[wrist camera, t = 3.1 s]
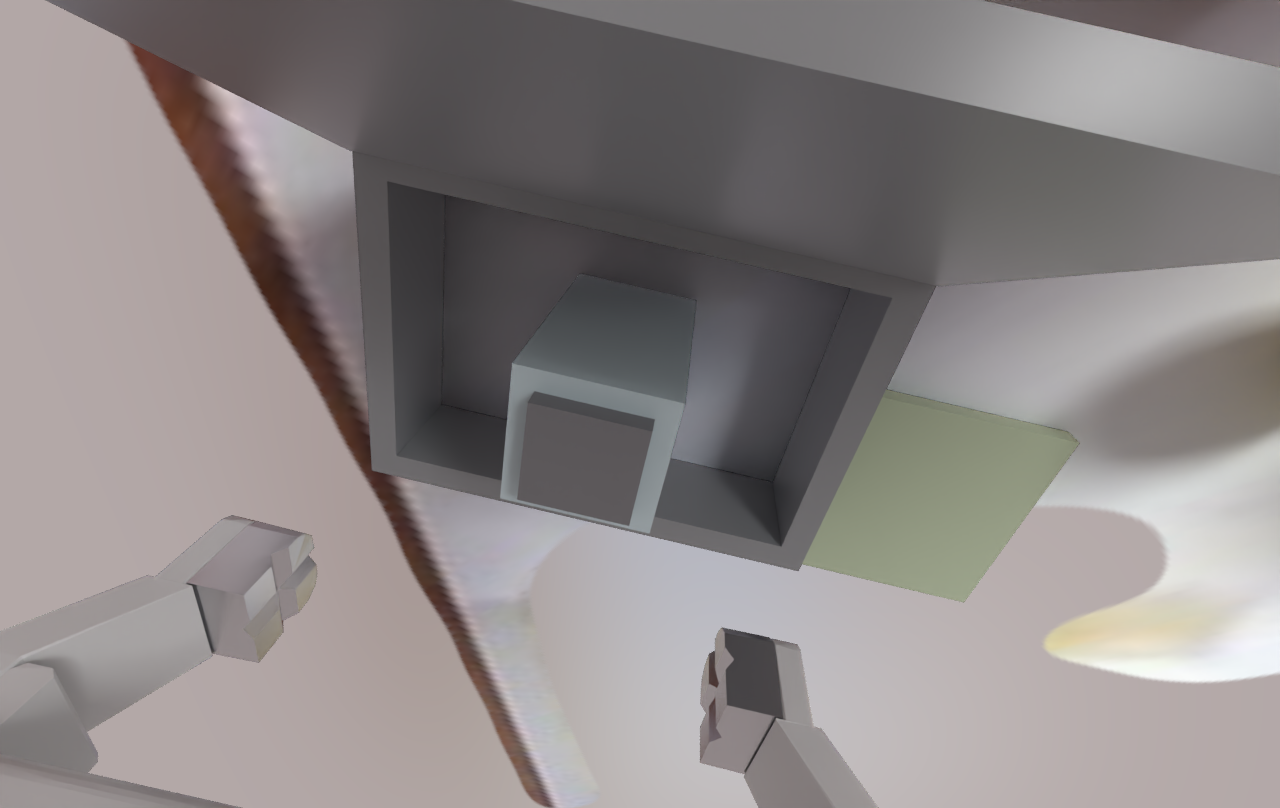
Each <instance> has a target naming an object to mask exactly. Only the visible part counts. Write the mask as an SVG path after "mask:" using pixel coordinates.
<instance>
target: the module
mask: <svg viewBox="0 0 1280 808" xmlns="http://www.w3.org/2000/svg"><path fill="white" fill-rule="evenodd" d="M695 309H696V300H692V299H688V298H684V297H679V296H675V295H671V294H667V293H662V292H658V291H654V290H649V289H645V288H641V287H636V286H632V285H628V284H623V283H619V282H615V281H610V280H606V279H602V278H597V277H593V276H589V275H585V274H579V275H578V277H577V278H576V279H575V281H574V282H573V283H572V285H571V286H570V287H569V289H568V290H567V291H566V293H565V294H564V295H563V297H562V298H561V299H560V301H559V302H558V303H557V305H556V306H555V307H554V308H553V310H552V311H551V312H550V314H549V315H548V316H547V318H546V319H545V320H544V322H543V323H542V324H541V326H540V327H539V328H538V330H537V331H536V332H535V334H534V335H533V336H532V338H531V339H530V340H529V342H528V343H527V344H526V346H525V347H524V348H523V350H522V351H521V352H520V353H519V355H518V356H517V357H516V359H515V360H514V361H513V363H512V369H511V381H510V392H509V403H508V415H507V426H506V437H505V449H504V460H503V471H502V483H501V494H500V498H501V499H505V500H509V501H513V502H518V503H522V504H526V505H530V506H535V507H539V508H543V509H547V510H551V511H556V512H560V513H564V514H568V515H573V516H577V517H581V518H585V519H590V520H594V521H598V522H602V523H607V524H611V525H615V526H619V527H624V528H628V529H632V530H636V531H640V532H645V533H649V534H650V530H651V526H652V523H653V519H654V516H655V512H656V508H657V505H658V501H659V498H660V494H661V490H662V487H663V483H664V479H665V476H666V472H667V469H668V465H669V461H670V458H671V454H672V450H673V447H674V443H675V440H676V436H677V432H678V429H679V425H680V422H681V418H682V414H683V411H684V407H685V403H686V393H687V384H688V375H689V365H690V356H691V346H692V337H693V327H694V318H695Z"/></svg>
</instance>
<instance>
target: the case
mask: <svg viewBox="0 0 1280 808" xmlns="http://www.w3.org/2000/svg"><path fill="white" fill-rule="evenodd" d="M46 1H49V2H50V3H52V4H54V5H56V6H58V7H60V8H63V9H64V10H66V11H68V12H70V13H72V14H74V15H77V16H78V17H80V18H83V19H84V20H86V21H88V22H91V23H93V24H95V25H97V26H99V27H101V28H103V29H105V30H107V31H109V32H111V33H113V34H115V35H117V36H119V37H121V38H123V39H125V40H127V41H129V42H131V43H133V44H135V45H137V46H139V47H141V48H143V49H145V50H147V51H149V52H151V53H153V54H155V55H157V56H159V57H161V58H163V59H165V60H167V61H169V62H171V63H173V64H175V65H177V66H179V67H181V68H183V69H185V70H187V71H190V72H192V73H194V74H196V75H198V76H200V77H202V78H204V79H206V80H208V81H210V82H212V83H214V84H216V85H218V86H220V87H222V88H224V89H226V90H228V91H230V92H232V93H234V94H236V95H238V96H240V97H242V98H244V99H246V100H248V101H250V102H252V103H254V104H256V105H258V106H260V107H262V108H264V109H266V110H268V111H270V112H272V113H274V114H276V115H278V116H280V117H282V118H284V119H286V120H289V121H291V122H293V123H295V124H297V125H299V126H301V127H303V128H305V129H307V130H309V131H311V132H313V133H315V134H317V135H319V136H321V137H323V138H325V139H327V140H329V141H331V142H333V143H335V144H337V145H339V146H341V147H343V148H345V149H347V150H349V151H352V152H353V168H354V184H355V201H356V217H357V233H358V250H359V266H360V283H361V299H362V315H363V332H364V348H365V364H366V381H367V397H368V413H369V430H370V446H371V462H372V471H377V472H381V473H385V474H389V475H393V476H398V477H402V478H406V479H410V480H415V481H419V482H423V483H427V484H432V485H436V486H440V487H444V488H448V489H453V490H457V491H461V492H465V493H470V494H474V495H478V496H482V497H487V498H491V499H495V500H499V501H503V502H508V503H512V504H516V505H520V506H525V507H529V508H533V509H537V510H542V511H546V512H550V513H554V514H558V515H563V516H567V517H571V518H575V519H580V520H584V521H588V522H592V523H597V524H601V525H605V526H609V527H614V528H618V529H622V530H626V531H630V532H635V533H639V534H643V535H647V536H652V537H656V538H660V539H664V540H669V541H673V542H677V543H682V544H686V545H690V546H694V547H698V548H703V549H707V550H711V551H715V552H719V553H724V554H728V555H732V556H736V557H740V558H745V559H749V560H753V561H757V562H762V563H766V564H770V565H774V566H778V567H783V568H787V569H791V570H796V571H799V569H800V567H801V565H802V563H803V561H804V559H805V557H806V555H807V553H808V550H809V548H810V546H811V544H812V542H813V540H814V538H815V536H816V534H817V532H818V530H819V528H820V526H821V524H822V521H823V519H824V517H825V515H826V513H827V511H828V509H829V507H830V505H831V503H832V501H833V499H834V497H835V495H836V492H837V490H838V488H839V486H840V484H841V482H842V480H843V478H844V476H845V474H846V472H847V470H848V468H849V465H850V463H851V461H852V459H853V457H854V455H855V453H856V451H857V449H858V447H859V445H860V443H861V441H862V439H863V436H864V434H865V432H866V430H867V428H868V426H869V424H870V422H871V420H872V418H873V416H874V414H875V412H876V410H877V407H878V405H879V403H880V401H881V399H882V397H883V395H884V393H885V391H886V389H887V387H888V385H889V383H890V380H891V378H892V376H893V374H894V372H895V370H896V368H897V366H898V364H899V362H900V360H901V358H902V356H903V354H904V351H905V349H906V347H907V345H908V343H909V341H910V339H911V337H912V335H913V333H914V331H915V329H916V327H917V325H918V322H919V320H920V318H921V316H922V314H923V312H924V310H925V308H926V306H927V304H928V302H929V300H930V298H931V295H932V293H933V291H934V289H935V287H936V286H951V285H964V284H976V283H988V282H1001V281H1013V280H1026V279H1038V278H1051V277H1063V276H1075V275H1088V274H1100V273H1113V272H1125V271H1138V270H1150V269H1162V268H1175V267H1187V266H1200V265H1212V264H1224V263H1237V262H1249V261H1262V260H1274V259H1280V67H1277V66H1272V65H1268V64H1263V63H1259V62H1254V61H1250V60H1246V59H1241V58H1237V57H1232V56H1228V55H1223V54H1219V53H1215V52H1210V51H1206V50H1201V49H1197V48H1192V47H1188V46H1184V45H1179V44H1175V43H1170V42H1166V41H1161V40H1157V39H1152V38H1148V37H1144V36H1139V35H1135V34H1130V33H1126V32H1121V31H1117V30H1113V29H1108V28H1104V27H1099V26H1095V25H1090V24H1086V23H1081V22H1077V21H1073V20H1068V19H1064V18H1059V17H1055V16H1050V15H1046V14H1042V13H1037V12H1033V11H1028V10H1024V9H1019V8H1015V7H1011V6H1006V5H1002V4H997V3H993V2H988V1H984V0H46ZM445 195H449V196H453V197H457V198H462V199H466V200H470V201H475V202H479V203H483V204H488V205H492V206H496V207H501V208H505V209H509V210H514V211H518V212H522V213H527V214H531V215H535V216H539V217H544V218H548V219H552V220H557V221H561V222H565V223H570V224H574V225H578V226H583V227H587V228H591V229H596V230H600V231H604V232H609V233H613V234H617V235H622V236H626V237H630V238H635V239H639V240H643V241H648V242H652V243H656V244H661V245H665V246H669V247H674V248H678V249H682V250H687V251H691V252H695V253H700V254H704V255H708V256H713V257H717V258H721V259H726V260H730V261H734V262H739V263H743V264H747V265H751V266H756V267H760V268H764V269H769V270H773V271H777V272H782V273H786V274H790V275H795V276H799V277H803V278H808V279H812V280H816V281H821V282H825V283H829V284H834V285H838V286H842V287H847V288H851V289H850V292H849V294H848V297H847V299H846V302H845V304H844V307H843V309H842V312H841V314H840V316H839V319H838V321H837V324H836V326H835V329H834V331H833V334H832V336H831V339H830V341H829V344H828V346H827V349H826V351H825V354H824V356H823V359H822V361H821V364H820V366H819V369H818V371H817V374H816V376H815V379H814V381H813V384H812V386H811V388H810V391H809V393H808V396H807V398H806V401H805V403H804V406H803V408H802V411H801V413H800V416H799V418H798V421H797V423H796V426H795V428H794V431H793V433H792V436H791V438H790V441H789V443H788V446H787V448H786V451H785V453H784V456H783V458H782V461H781V463H780V465H779V468H778V470H777V473H776V475H775V478H774V480H773V482H769V481H765V480H761V479H756V478H752V477H748V476H744V475H739V474H735V473H731V472H727V471H722V470H718V469H714V468H709V467H705V466H701V465H697V464H692V463H688V462H684V461H680V460H675V459H671V458H670V461H669V465H668V469H667V472H666V476H665V479H664V483H663V487H662V490H661V494H660V498H659V501H658V505H657V508H656V512H655V516H654V519H653V523H652V526H651V530H650V534H649V533H645V532H640V531H636V530H632V529H628V528H624V527H619V526H615V525H611V524H607V523H602V522H598V521H594V520H590V519H585V518H581V517H577V516H573V515H568V514H564V513H560V512H556V511H551V510H547V509H543V508H539V507H535V506H530V505H526V504H522V503H518V502H513V501H509V500H505V499H501V498H500V494H501V483H502V471H503V460H504V449H505V437H506V426H507V420H505V419H501V418H497V417H492V416H488V415H484V414H480V413H475V412H471V411H467V410H463V409H458V408H454V407H450V406H446V405H441V402H442V343H443V284H444V225H445Z"/></svg>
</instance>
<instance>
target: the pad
mask: <svg viewBox="0 0 1280 808" xmlns="http://www.w3.org/2000/svg"><path fill="white" fill-rule="evenodd" d="M1078 445H1079V442H1078V441H1077V440H1076V439H1075V438H1074V437H1073V436H1072V435H1071V434H1070V433H1069V432H1067V431H1062V430H1058V429H1054V428H1049V427H1045V426H1041V425H1037V424H1032V423H1028V422H1024V421H1019V420H1015V419H1011V418H1007V417H1002V416H998V415H994V414H989V413H985V412H981V411H976V410H972V409H968V408H964V407H959V406H955V405H951V404H946V403H942V402H938V401H933V400H929V399H925V398H921V397H916V396H912V395H908V394H903V393H899V392H895V391H891V390H886V391H885V393H884V395H883V397H882V399H881V401H880V403H879V405H878V407H877V410H876V412H875V414H874V416H873V418H872V420H871V422H870V424H869V426H868V428H867V430H866V432H865V434H864V436H863V439H862V441H861V443H860V445H859V447H858V449H857V451H856V453H855V455H854V457H853V459H852V461H851V463H850V465H849V468H848V470H847V472H846V474H845V476H844V478H843V480H842V482H841V484H840V486H839V488H838V490H837V492H836V495H835V497H834V499H833V501H832V503H831V505H830V507H829V509H828V511H827V513H826V515H825V517H824V519H823V521H822V524H821V526H820V528H819V530H818V532H817V534H816V536H815V538H814V540H813V542H812V544H811V546H810V548H809V550H808V553H807V555H806V557H805V559H804V561H803V563H802V564H803V565H808V566H812V567H816V568H821V569H824V570H829V571H833V572H837V573H842V574H846V575H850V576H854V577H859V578H863V579H867V580H871V581H875V582H880V583H884V584H888V585H892V586H896V587H901V588H905V589H909V590H913V591H918V592H922V593H926V594H930V595H935V596H939V597H943V598H947V599H952V600H956V601H960V602H965V600H966V599H967V598H968V596H969V595H970V594H971V592H972V591H973V589H974V588H975V587H976V585H977V584H978V583H979V581H980V580H981V578H982V577H983V576H984V574H985V573H986V571H987V570H988V569H989V567H990V566H991V565H992V563H993V562H994V560H995V559H996V558H997V556H998V555H999V553H1000V552H1001V551H1002V549H1003V548H1004V547H1005V545H1006V544H1007V543H1008V541H1009V540H1010V538H1011V537H1012V536H1013V534H1014V533H1015V531H1016V530H1017V529H1018V527H1019V526H1020V525H1021V523H1022V522H1023V521H1024V519H1025V518H1026V516H1027V515H1028V513H1029V512H1030V511H1031V509H1032V508H1033V507H1034V505H1035V504H1036V503H1037V501H1038V500H1039V498H1040V497H1041V496H1042V494H1043V493H1044V492H1045V490H1046V489H1047V487H1048V486H1049V485H1050V483H1051V482H1052V481H1053V479H1054V478H1055V476H1056V475H1057V474H1058V472H1059V471H1060V470H1061V468H1062V467H1063V465H1064V464H1065V463H1066V461H1067V460H1068V459H1069V457H1070V456H1071V454H1072V453H1073V452H1074V450H1075V449H1076V447H1077V446H1078Z"/></svg>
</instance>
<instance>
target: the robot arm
mask: <svg viewBox="0 0 1280 808" xmlns="http://www.w3.org/2000/svg"><path fill="white" fill-rule="evenodd" d="M313 549H314V544H313V539H312V536H311V535H309V534H305V533H301V532H298V531H294V530H290V529H286V528H282V527H278V526H274V525H270V524H266V523H263V522H259V521H254V520H250V519H246V518H242V517H237V516H233V515H231V516H229V517H226V518H224V519H222V520H221V521H219V522H218V523H217V524H216V525H214V526H213V527H212V528H211V529H210V530H209V531H208V532H207V533H205V534H204V535H203V536H202V537H201V538H199V539H198V540H197V541H196V542H195V543H194V544H193V545H192V546H190V547H189V548H188V549H187V550H186V551H185V552H183V553H182V554H181V555H180V556H179V557H177V558H176V559H175V560H174V561H173V562H172V563H171V564H169V565H168V566H167V567H166V568H165V569H164V570H162V571H161V572H160V573H159V574H158V575H157V576H156V577H153V576H148V575H147V576H144V577H141V578H139V579H136V580H134V581H131V582H128V583H125V584H123V585H120V586H118V587H115V588H112V589H110V590H107V591H105V592H102V593H99V594H97V595H94V596H92V597H89V598H86V599H84V600H81V601H78V602H76V603H73V604H70V605H68V606H65V607H63V608H60V609H57V610H55V611H52V612H49V613H47V614H44V615H42V616H39V617H36V618H34V619H31V620H29V621H26V622H23V623H21V624H18V625H15V626H13V627H10V628H8V629H5V630H3V631H0V808H241V807H236V806H232V805H228V804H223V803H219V802H214V801H210V800H205V799H201V798H196V797H192V796H187V795H183V794H179V793H174V792H170V791H165V790H161V789H157V788H152V787H147V786H143V785H139V784H134V783H130V782H126V781H121V780H116V779H112V778H107V777H103V776H98V775H94V774H90V773H88V772H89V771H90V770H91V769H92V767H94V765H95V764H96V763H97V762H98V752H97V750H96V749H95V747H94V745H93V743H92V741H91V739H90V737H89V735H88V733H87V732H88V731H89V730H91V729H93V728H94V727H96V726H98V725H99V724H101V723H102V722H104V721H106V720H107V719H109V718H111V717H112V716H114V715H116V714H117V713H119V712H121V711H122V710H124V709H126V708H127V707H129V706H131V705H132V704H134V703H136V702H137V701H139V700H140V699H142V698H144V697H146V696H147V695H149V694H151V693H152V692H154V691H156V690H157V689H159V688H161V687H162V686H164V685H166V684H167V683H169V682H170V681H172V680H174V679H175V678H177V677H179V676H181V675H182V674H184V673H186V672H187V671H189V670H191V669H192V668H194V667H196V666H197V665H199V664H201V663H202V662H204V661H206V660H207V659H209V658H210V657H212V654H218V655H222V656H228V657H233V658H238V659H243V660H248V661H253V662H258V663H259V662H260V661H261V659H262V658H263V657H264V656H265V654H266V653H267V652H268V651H269V649H270V648H271V647H272V646H273V644H274V643H275V642H276V641H277V639H278V638H279V637H280V636H281V634H282V633H283V620H285V619H287V618H289V617H291V616H293V615H295V614H297V613H299V611H300V610H301V609H302V608H303V606H304V605H305V604H306V602H307V601H308V600H309V598H310V595H311V593H312V591H313V589H314V587H315V584H316V578H317V567H316V564H315V562H314V561H313V560H312V559H311V558H310V557H309V553H310V552H311V551H312V550H313ZM700 704H701V705H702V707H703V709H704V711H705V712H706V714H705V717H704V719H703V721H702V724H701V726H700V763H703V764H707V765H711V766H715V767H719V768H723V769H727V770H731V771H734V772H738V773H742V774H745V775H744V778H745V780H746V782H747V784H748V786H749V788H750V790H751V793H752V795H753V797H754V799H755V801H756V803H757V805H758V807H759V808H878V806H877V805H876V804H875V803H874V801H873V800H872V798H871V797H870V795H869V794H868V793H867V791H866V790H865V788H864V787H863V786H862V784H861V783H860V781H859V780H858V779H857V778H856V776H855V774H854V773H853V772H852V771H851V769H850V768H849V766H848V765H847V763H846V762H845V761H844V759H843V758H842V756H841V755H840V754H839V752H838V751H837V750H836V748H835V747H834V745H833V744H832V743H831V741H830V740H829V738H828V737H827V736H826V734H825V733H824V731H823V730H822V729H821V728H817V727H814V726H813V720H812V714H811V708H810V703H809V697H808V691H807V685H806V679H805V673H804V668H803V662H802V656H801V650H800V648H799V646H798V645H797V644H793V643H789V642H784V641H780V640H776V639H770V638H769V637H764V636H760V635H755V634H750V633H746V632H741V631H736V630H731V629H727V628H721V629H720V630H719V631H718V633H717V636H716V638H715V651H713V652H712V653H710V654H709V655H708V658H707V661H706V664H705V667H704V671H703V676H702V684H701V702H700Z"/></svg>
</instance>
